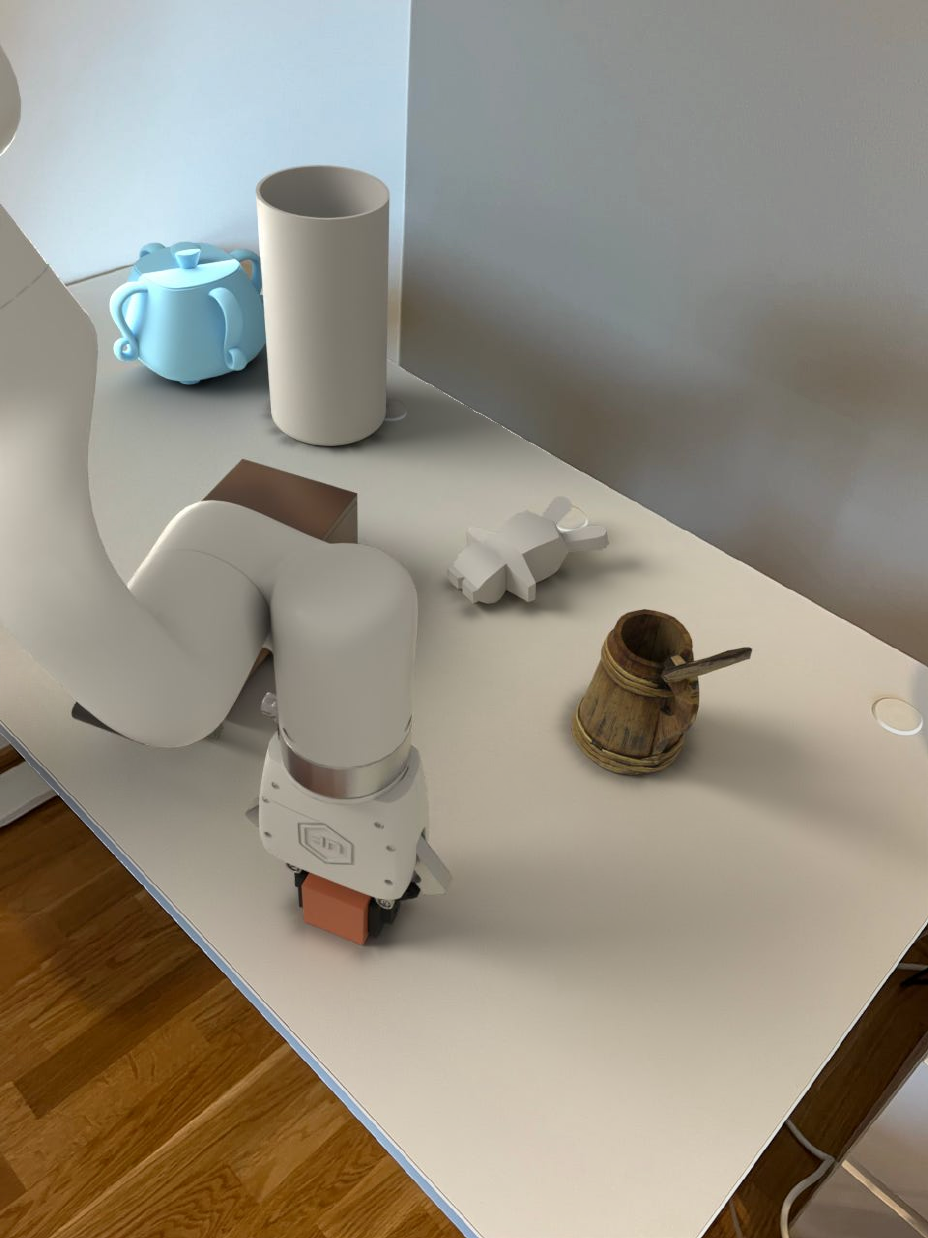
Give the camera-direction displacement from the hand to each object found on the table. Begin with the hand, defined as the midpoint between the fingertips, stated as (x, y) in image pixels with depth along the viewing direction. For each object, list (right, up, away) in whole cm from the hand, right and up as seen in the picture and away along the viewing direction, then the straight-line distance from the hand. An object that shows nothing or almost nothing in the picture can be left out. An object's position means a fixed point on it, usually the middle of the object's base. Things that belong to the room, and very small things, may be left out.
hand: (347, 904), depth 74 cm
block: (0, 0, 0) cm, 0 cm away
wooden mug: (+22, +9, +12) cm, 27 cm away
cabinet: (-10, +22, +23) cm, 33 cm away
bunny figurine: (+14, +24, +27) cm, 39 cm away
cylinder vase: (-7, +42, +44) cm, 61 cm away
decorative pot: (-23, +50, +51) cm, 75 cm away
